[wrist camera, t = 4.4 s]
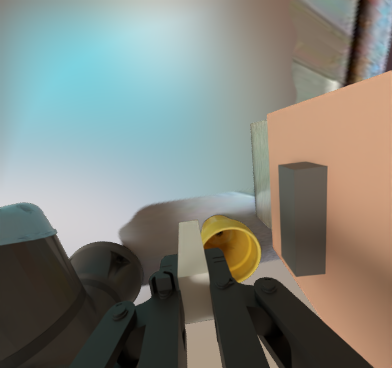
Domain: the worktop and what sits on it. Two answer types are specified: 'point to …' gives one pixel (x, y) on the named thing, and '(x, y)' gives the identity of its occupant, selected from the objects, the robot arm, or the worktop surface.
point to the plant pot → (233, 245)
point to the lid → (338, 208)
